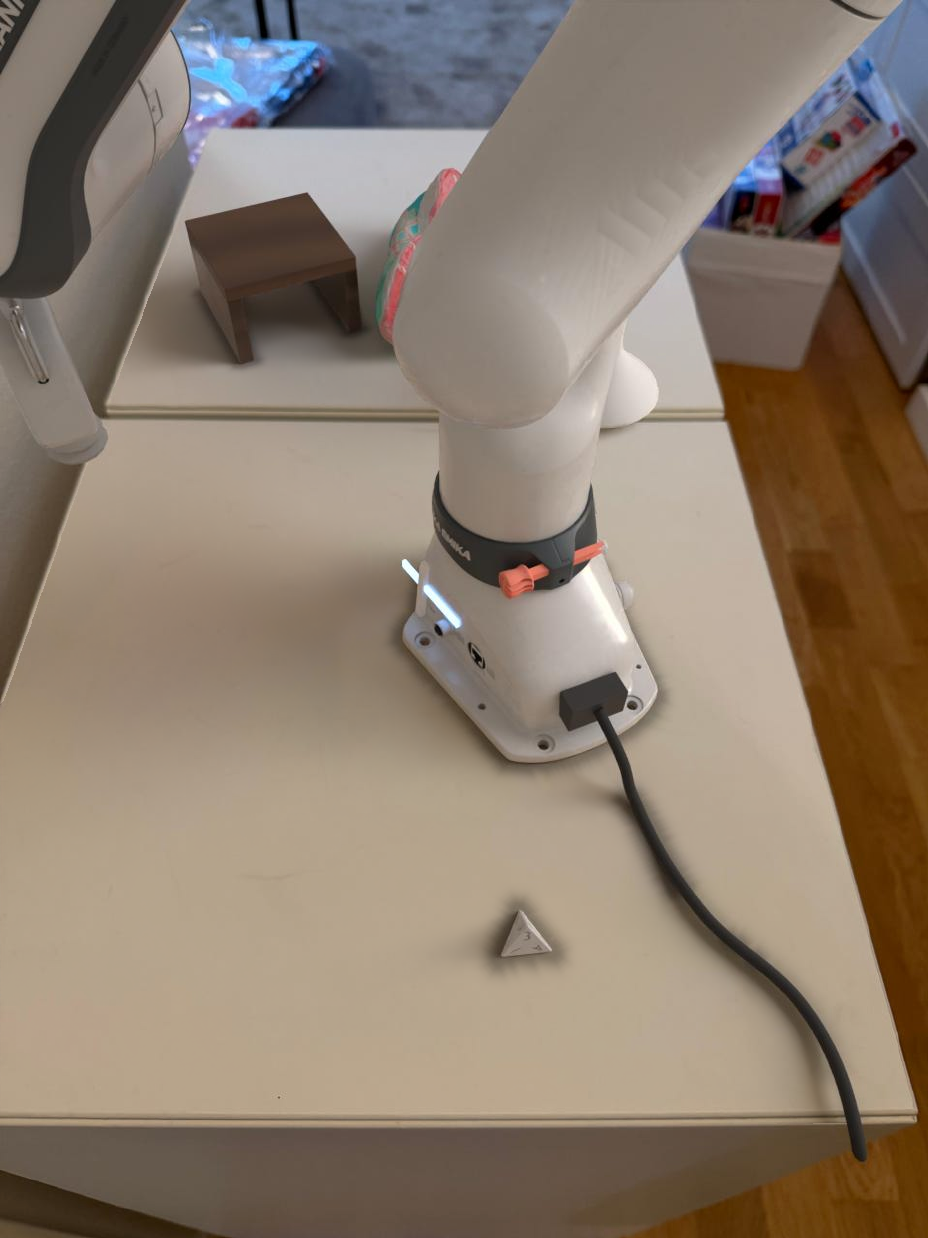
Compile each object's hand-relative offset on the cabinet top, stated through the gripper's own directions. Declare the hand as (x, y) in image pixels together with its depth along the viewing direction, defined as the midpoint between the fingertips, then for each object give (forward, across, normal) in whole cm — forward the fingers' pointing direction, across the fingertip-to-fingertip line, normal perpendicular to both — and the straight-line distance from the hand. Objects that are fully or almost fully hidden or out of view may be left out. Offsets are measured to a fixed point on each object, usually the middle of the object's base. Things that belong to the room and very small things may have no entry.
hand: (64, 412), depth 64 cm
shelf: (+20, +33, -25) cm, 45 cm away
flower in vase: (+20, +5, -49) cm, 54 cm away
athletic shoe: (+20, +29, -42) cm, 54 cm away
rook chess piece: (+3, 0, 0) cm, 3 cm away
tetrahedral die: (+21, -41, -15) cm, 49 cm away
